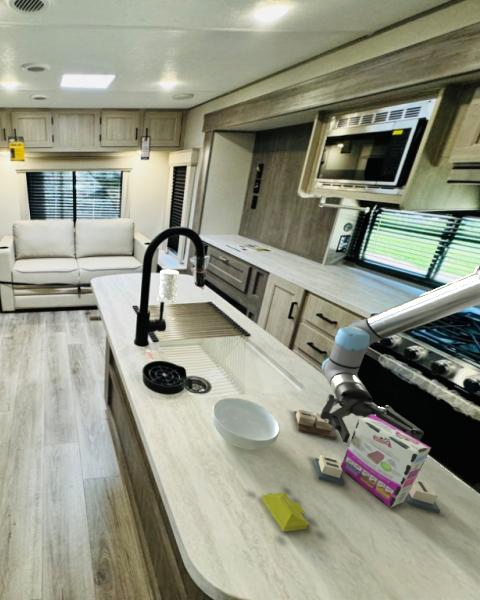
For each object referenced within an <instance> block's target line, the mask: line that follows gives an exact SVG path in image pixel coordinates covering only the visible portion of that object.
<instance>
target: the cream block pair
mask: <svg viewBox="0 0 480 600" xmlns="http://www.w3.org/2000/svg"><path fill="white" fill-rule="evenodd" d="M292 415H293V417H294V421H295V425H296V428H297V431H298V432H302V433H305V434H310V435H313V436H318V437H322V438H326V439H330V440H333V441H336V440H337V436H336V435H337V434H336V432H335V429H334V428H333V426H332V425H330V424H329V423H328V422H329V420H328V419H325V420H324V419H321V418H320V416H321V413H317V412H315V414H313V412H312V411H309V410H304V409H300V408H298V409H297V410H293V412H292Z"/></svg>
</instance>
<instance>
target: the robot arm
mask: <svg viewBox="0 0 480 600" xmlns="http://www.w3.org/2000/svg"><path fill="white" fill-rule="evenodd" d="M479 305H480V265H479V266H476V267H475V270H474V272H473V273H470V274H468V275H466V276H464V277H461V278H459V279H456V280H454V281H452V282H450V283H447V284H445V285H442V286H440V287H437V288H435V289H433V290H431V291H428V292H425V293H423V294H421V295H418V296H416V297H414V298H411V299H409V300H407V301H405V302H402V303H399V304H397V305H395V306H392V307H390V308H388V309H386V310H383V311H380V312H378V313H376V314H374V315H371V316H369V317H366V318H364V319H357V320H355V321H353V322H351V323H349V324H348V325H347V326H342V327H340V328H339V329H338V331H337V334H336V335H335V337H334V342H333V346H332V349H331V353H330V355H329V357H328V358H326V359H325V360H324V361H323V362H322V363H321V369H322V373H323V375H324V377H325V379H326V380H327V383H328V384H329V386H330V387H331V390H332V391H333V393H334V394H329V393H328V396H327V399H326V403H325V405H324V406H323V408H322V409H321V413H320V414H321V416H320V418H321V419H324V420H325V419H328V420H329V422H328V423H329V424H330V425H332V426H333V427H332V428H333V430H334V431H335V430H336V431H337V432H338V434H339V436H340V439H341V441H342V443H344V444H348V442H349V439H350V436H351V433H350V431H349V429H348V427H347V425H346V423H345V421H344V419H343V418H345V417H349V416H350V415H351V414H352V415H354V416H357V417H366V416H368V415H371V414H373V415H375V416H376V417H378V418H380V419H382V420H383V421H385V422H387V423H389V424H390V425H392V426H394V427H396V428H397V429H399V430H401V431H403V432H404V433H406V434H408V435H410V436H411V437H413V438H415V439H416V440H418V441H420V442H422V441H421V439H422V438H423V436H424V433H425V431H423V430H422V429H421V428H419V427H417V425H415V424H413V423H412V422H411V421H409V420H408V419H406V418H405V417H403V416H402V415H400V414H399V413H398V412H396V411H395V410H394V409H393V408H392V407H391V406H389V405H387V404H386V405H384V406H381V407H380V406H378V405H377V404H375V403H374V401H373V398H372V397H373V396H371V394H370V393H369V391H368V389H367V388H366V387H365V385H364V384H363V382H362V381H361V379H360V378H359V376H358V372H359V370H360V369H361V368H360V367H361V364H362V362H363V359H364V356H365V355H366V352H367V351H368V349H369V347H370V346H371V345H372V344H374V343H376V342H379V341H383V340H384V339H387V338H390V337H393V336H395V335H398V334H401V333H404V332H407V331H410V330H412V329H415V328H418V327H420V326H423V325H426V324H429V323H432V322H435V321H437V320H440V319H442V318H443V319H444V318H445V317H448V316H451V315H454V314H456V313H459V312H463V311H465V310H468V309H471V308H473V307H476V306H479ZM337 404H338V405H339V408H337V409H335V410H333V411H332V409H333V408H334V407H335V406H336V405H337ZM331 411H332V412H331Z"/></svg>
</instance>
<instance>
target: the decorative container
mask: <svg viewBox="0 0 480 600" xmlns="http://www.w3.org/2000/svg"><path fill="white" fill-rule="evenodd" d="M159 274H160V276H159V278H160V282H159V284H160V285H159V292H158V293H159V295H160V297H161V298H164V299H168V300H172V299H175V297H177V290H178V289H177V287H178V280H179V277H178V276H179V275H180V271H178V270H176V269H172V268H170V269H169V268H165V269H160V271H159ZM157 301H158V302H160V301H159V299H158V298H157ZM177 301H178V299H177V300H176V301H172V303H171V304H175V303H176V302H177Z"/></svg>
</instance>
